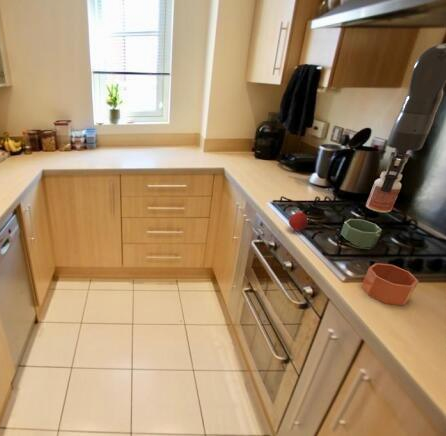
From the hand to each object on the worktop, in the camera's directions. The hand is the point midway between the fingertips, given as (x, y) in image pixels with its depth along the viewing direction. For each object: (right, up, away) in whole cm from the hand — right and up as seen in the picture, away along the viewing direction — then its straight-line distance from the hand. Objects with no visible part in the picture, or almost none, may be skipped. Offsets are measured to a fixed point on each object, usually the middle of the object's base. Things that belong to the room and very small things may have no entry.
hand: (386, 187), depth 91 cm
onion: (-14, -13, +22) cm, 29 cm away
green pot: (+3, -17, +15) cm, 23 cm away
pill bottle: (0, -6, +3) cm, 7 cm away
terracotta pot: (-7, -29, -7) cm, 30 cm away
